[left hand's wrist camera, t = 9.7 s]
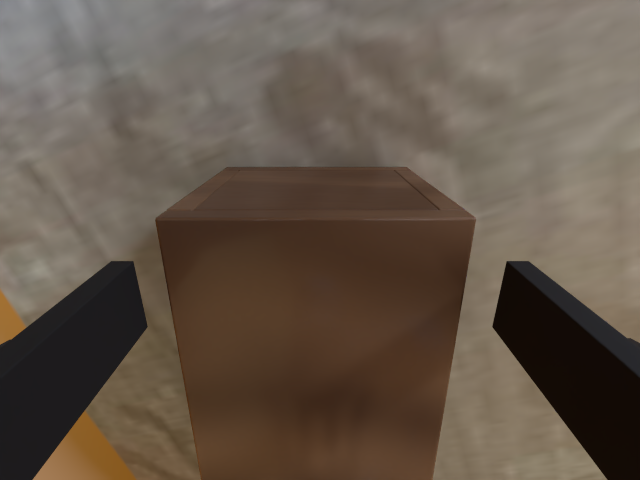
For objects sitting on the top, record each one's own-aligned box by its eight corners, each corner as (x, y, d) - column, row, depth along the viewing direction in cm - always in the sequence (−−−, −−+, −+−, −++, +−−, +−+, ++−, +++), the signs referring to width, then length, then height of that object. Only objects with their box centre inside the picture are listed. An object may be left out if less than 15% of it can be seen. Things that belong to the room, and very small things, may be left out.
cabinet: (387, 389, 26) (423, 538, 17) (247, 390, 26) (211, 538, 17) (407, 167, 20) (477, 217, 11) (226, 167, 20) (153, 218, 11)
